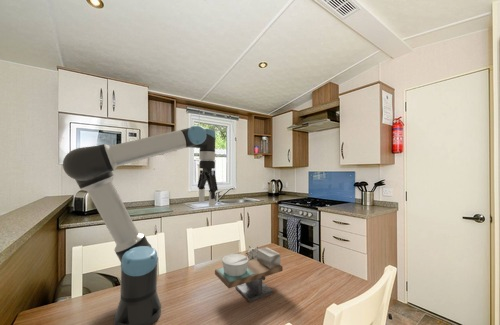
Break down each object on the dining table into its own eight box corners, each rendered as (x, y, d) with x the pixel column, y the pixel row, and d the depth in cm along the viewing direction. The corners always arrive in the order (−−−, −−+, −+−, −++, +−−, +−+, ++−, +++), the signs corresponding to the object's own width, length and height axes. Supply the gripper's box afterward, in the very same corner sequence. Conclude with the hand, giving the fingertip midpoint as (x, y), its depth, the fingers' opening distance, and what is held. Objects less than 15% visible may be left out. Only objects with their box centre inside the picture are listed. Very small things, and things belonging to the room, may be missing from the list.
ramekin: (245, 279, 84) (245, 266, 84) (218, 276, 86) (218, 263, 86) (250, 267, 95) (250, 254, 95) (226, 264, 97) (226, 252, 97)
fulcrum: (249, 302, 87) (250, 283, 87) (235, 288, 97) (235, 271, 97) (272, 293, 93) (273, 276, 94) (257, 280, 103) (257, 265, 104)
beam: (229, 291, 80) (230, 271, 81) (213, 274, 93) (214, 257, 93) (284, 273, 95) (284, 255, 95) (263, 261, 108) (264, 245, 108)
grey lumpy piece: (255, 265, 128) (264, 250, 130) (254, 266, 120) (264, 250, 122) (243, 256, 130) (252, 242, 133) (241, 256, 122) (251, 241, 125)
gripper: (225, 160, 97) (224, 207, 96) (205, 161, 118) (204, 199, 117) (209, 159, 93) (209, 208, 92) (191, 160, 114) (191, 200, 113)
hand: (206, 203), depth 105 cm, fingers open, 13 cm apart
